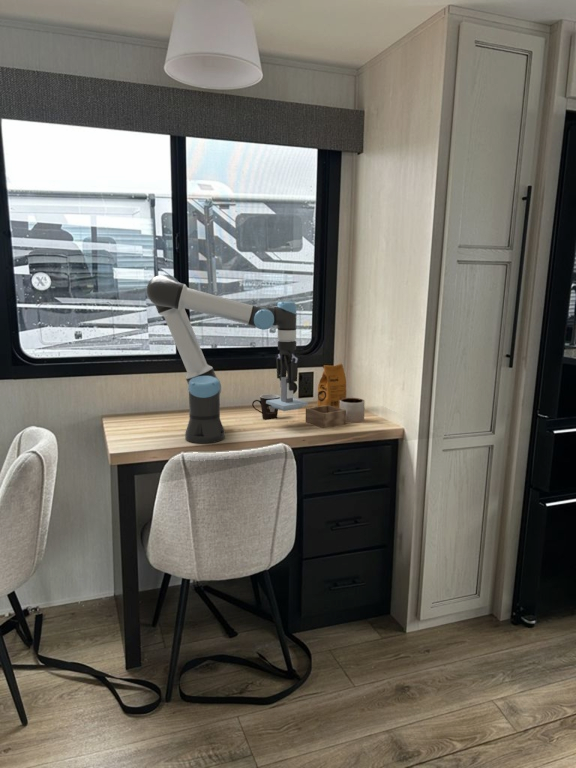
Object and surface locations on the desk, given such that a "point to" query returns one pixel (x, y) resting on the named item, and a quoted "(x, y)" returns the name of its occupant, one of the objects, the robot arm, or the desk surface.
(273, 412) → the coffee mug
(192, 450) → the desk surface
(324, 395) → the coffee package
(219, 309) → the robot arm
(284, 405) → the lid
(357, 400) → the planter
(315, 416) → the crate
